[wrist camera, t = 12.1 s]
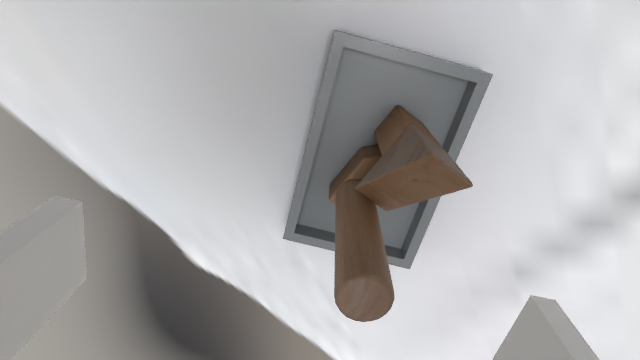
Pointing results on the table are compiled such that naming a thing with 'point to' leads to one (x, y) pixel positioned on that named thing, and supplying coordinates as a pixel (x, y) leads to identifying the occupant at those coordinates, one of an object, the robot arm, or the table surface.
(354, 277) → the brown tapered wooden part
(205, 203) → the table surface
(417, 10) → the table surface
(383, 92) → the tray
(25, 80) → the table surface
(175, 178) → the table surface
